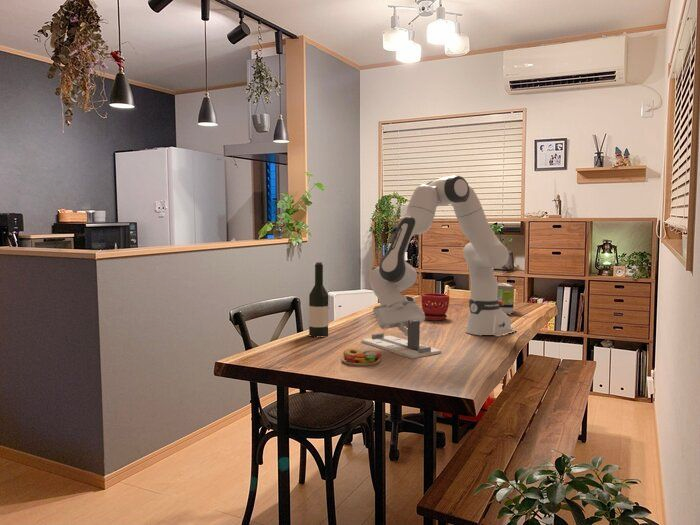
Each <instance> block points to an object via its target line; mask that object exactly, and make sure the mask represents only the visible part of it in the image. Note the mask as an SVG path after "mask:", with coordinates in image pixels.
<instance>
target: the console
mask: <svg viewBox="0 0 700 525" xmlns="http://www.w3.org/2000/svg"><path fill="white" fill-rule="evenodd" d="M384 334H385V333H384V332H381V333H380V332H379V333H374V334H373V333H372V334H371V337H370V338H363V339H361V341H360V342H361V343H364V344H366V345H370V346H373V347H376V348H379V349H382V350H384V351H389V352H391V353H394V354H397V355H400V356H403V357H406V358H409V359H417V358H421V357H427V356H433V355H437V354H439V353H440V354H442V350H441V349H437V348H435V347H432V346H427V345H424V344H421V343H419V348H418V349H410V348H408V339H403V338H401V337H396V336H393V335H390V334H389V335H384Z"/></svg>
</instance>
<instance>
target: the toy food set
mask: <svg viewBox="0 0 700 525" xmlns="http://www.w3.org/2000/svg"><path fill="white" fill-rule="evenodd" d="M342 353H343V354H342V355H343V357H341V360H342V361H343V363H344V364H346V365H348V366H353V367H370V366H375V365H377V364H378V363H379V362H380V361H381V358H382V354H381V353H380V352H373V351H363V352H362V351H361V350H359V349H356V348H346V349H345V350H343V352H342Z"/></svg>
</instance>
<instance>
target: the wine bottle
mask: <svg viewBox="0 0 700 525" xmlns="http://www.w3.org/2000/svg"><path fill="white" fill-rule="evenodd" d="M323 277H324V264H323V263H322V262H320V261H319V262H315V264H314V286H313V288H312V289H311V291H310V292H309V295H308V296H309V303H308V308H309V309H308V314H309V315H308V316H309V317H308V318H309V319H308V324H309V325H308V332H309V333H308V336H309V335H311V336H315V337H317V336H327V337H329V293H328V292H327V290H326V288H325V286H324V282H323V281H324V280H323V279H324V278H323ZM315 337H314V338H315Z"/></svg>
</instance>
